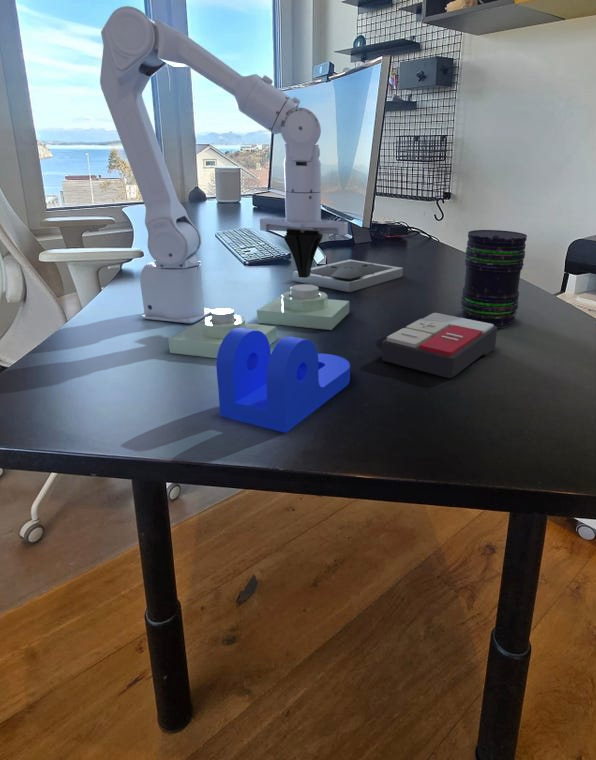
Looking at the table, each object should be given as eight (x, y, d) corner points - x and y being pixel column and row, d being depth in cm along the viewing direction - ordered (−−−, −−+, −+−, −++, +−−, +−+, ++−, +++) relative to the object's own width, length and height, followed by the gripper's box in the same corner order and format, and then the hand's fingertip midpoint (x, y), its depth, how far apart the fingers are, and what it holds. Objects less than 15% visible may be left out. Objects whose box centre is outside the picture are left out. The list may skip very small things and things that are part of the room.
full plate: (257, 322, 92) (256, 299, 90) (281, 306, 102) (281, 285, 100) (331, 330, 89) (331, 306, 87) (349, 312, 99) (349, 291, 97)
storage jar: (462, 310, 103) (470, 228, 97) (516, 315, 100) (527, 232, 94) (456, 324, 94) (464, 235, 88) (514, 330, 91) (527, 239, 86)
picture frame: (349, 292, 113) (402, 276, 129) (349, 278, 112) (403, 264, 128) (293, 281, 121) (349, 267, 137) (292, 268, 120) (349, 256, 136)
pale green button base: (169, 353, 77) (166, 325, 76) (205, 332, 86) (202, 307, 84) (248, 362, 75) (246, 334, 73) (276, 340, 84) (275, 314, 82)
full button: (286, 299, 92) (286, 289, 92) (296, 293, 97) (296, 283, 96) (313, 302, 91) (313, 291, 91) (322, 295, 96) (322, 285, 95)
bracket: (285, 433, 56) (282, 350, 53) (220, 416, 59) (213, 337, 56) (360, 375, 71) (362, 308, 68) (305, 364, 74) (304, 299, 71)
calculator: (380, 335, 75) (433, 308, 86) (380, 364, 77) (431, 334, 88) (452, 353, 69) (498, 321, 80) (450, 383, 71) (496, 348, 82)
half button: (207, 324, 78) (206, 313, 77) (218, 318, 81) (217, 307, 80) (228, 327, 77) (227, 315, 76) (238, 321, 80) (237, 309, 79)
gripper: (250, 191, 85) (254, 277, 90) (339, 195, 82) (338, 284, 87) (268, 188, 91) (271, 269, 97) (351, 192, 88) (350, 275, 94)
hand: (304, 276), depth 92 cm, fingers closed
